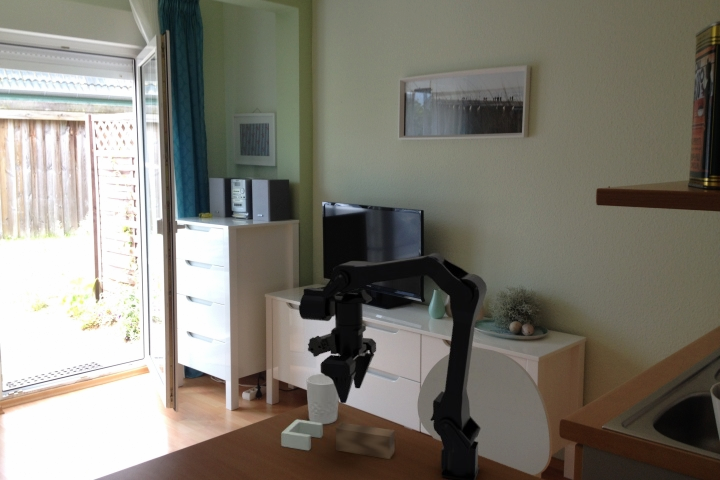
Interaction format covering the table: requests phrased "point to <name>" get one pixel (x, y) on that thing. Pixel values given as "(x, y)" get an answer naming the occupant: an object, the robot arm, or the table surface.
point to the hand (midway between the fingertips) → (350, 395)
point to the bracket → (301, 434)
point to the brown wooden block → (365, 440)
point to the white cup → (322, 399)
